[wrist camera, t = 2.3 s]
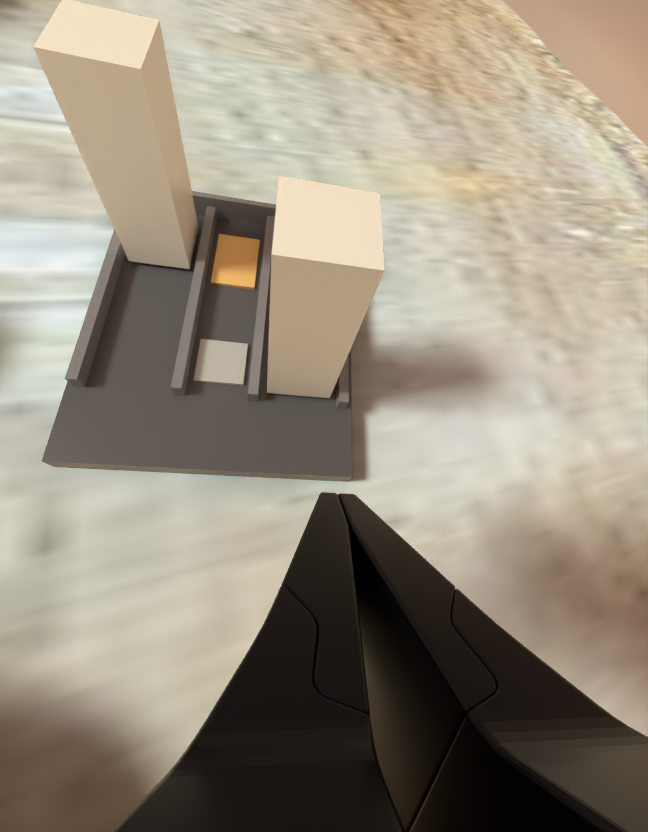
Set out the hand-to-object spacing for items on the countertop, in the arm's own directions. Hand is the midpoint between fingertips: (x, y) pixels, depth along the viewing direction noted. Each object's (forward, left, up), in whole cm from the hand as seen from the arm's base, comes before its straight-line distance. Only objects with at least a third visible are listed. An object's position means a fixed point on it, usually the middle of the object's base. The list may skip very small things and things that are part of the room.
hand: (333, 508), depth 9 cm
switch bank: (+14, -2, -13) cm, 19 cm away
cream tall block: (+9, -5, -12) cm, 16 cm away
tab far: (+22, -1, -12) cm, 25 cm away
